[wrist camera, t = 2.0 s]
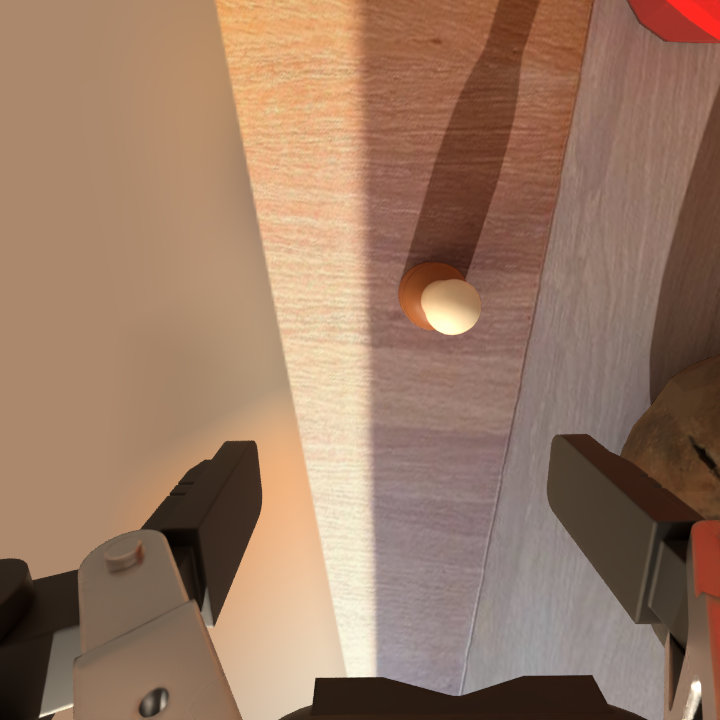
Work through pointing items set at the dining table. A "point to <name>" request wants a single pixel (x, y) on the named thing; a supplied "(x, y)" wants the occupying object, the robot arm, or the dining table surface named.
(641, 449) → the pot
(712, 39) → the bottle
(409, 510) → the dining table surface
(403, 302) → the drumstick
